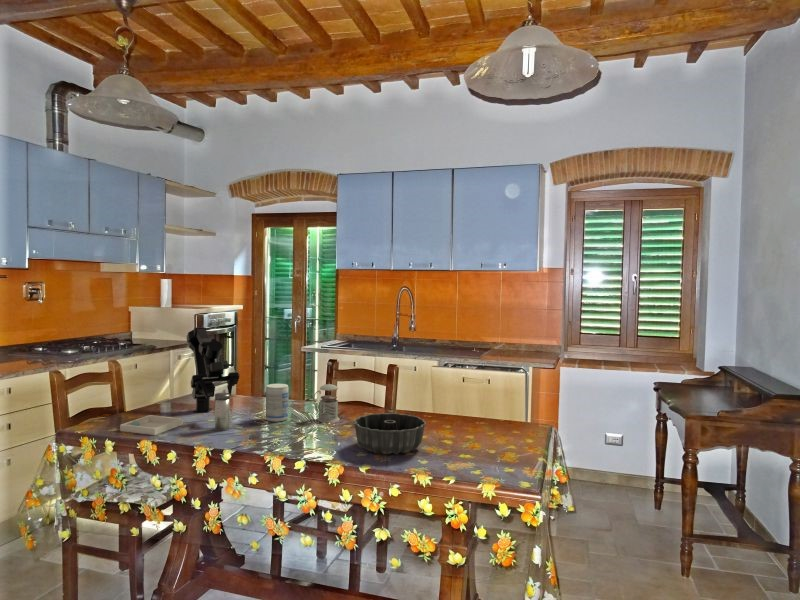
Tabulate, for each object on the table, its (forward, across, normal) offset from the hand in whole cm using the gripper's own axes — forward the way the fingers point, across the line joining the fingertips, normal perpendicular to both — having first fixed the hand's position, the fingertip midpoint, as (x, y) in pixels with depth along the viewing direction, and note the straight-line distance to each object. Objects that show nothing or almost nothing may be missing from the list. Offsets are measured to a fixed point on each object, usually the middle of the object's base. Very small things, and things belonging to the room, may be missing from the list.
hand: (218, 396), depth 226 cm
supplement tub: (+9, +24, +8) cm, 27 cm away
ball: (+2, -30, +14) cm, 33 cm away
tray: (+3, -24, +13) cm, 28 cm away
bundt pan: (+49, +47, -31) cm, 75 cm away
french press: (+16, +43, +2) cm, 46 cm away
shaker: (+12, 0, +5) cm, 13 cm away
